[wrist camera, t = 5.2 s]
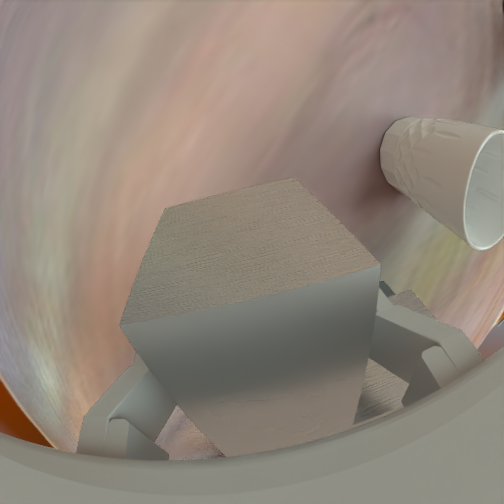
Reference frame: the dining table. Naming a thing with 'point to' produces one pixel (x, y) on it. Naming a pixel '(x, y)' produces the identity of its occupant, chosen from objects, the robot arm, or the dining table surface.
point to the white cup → (450, 174)
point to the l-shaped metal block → (262, 319)
